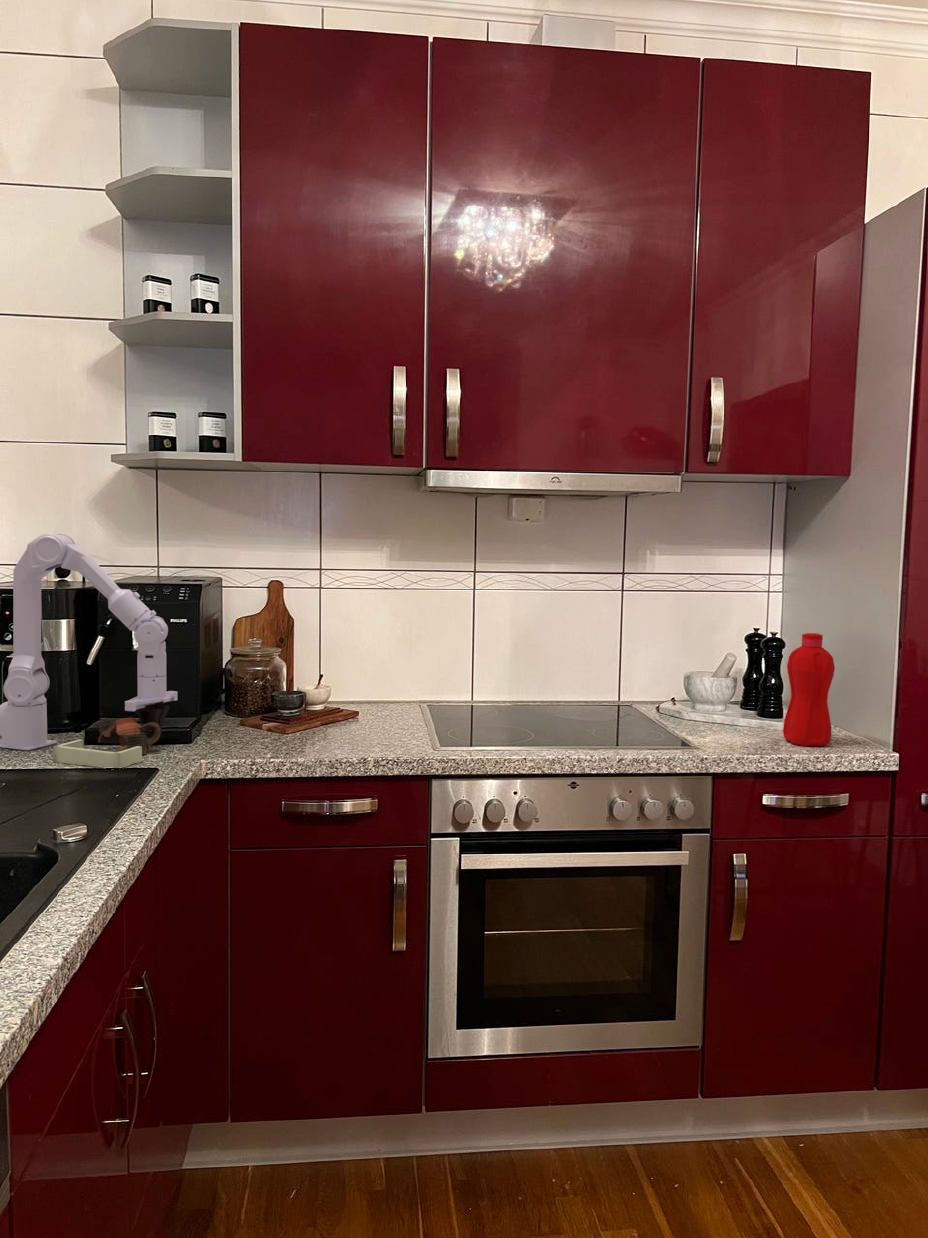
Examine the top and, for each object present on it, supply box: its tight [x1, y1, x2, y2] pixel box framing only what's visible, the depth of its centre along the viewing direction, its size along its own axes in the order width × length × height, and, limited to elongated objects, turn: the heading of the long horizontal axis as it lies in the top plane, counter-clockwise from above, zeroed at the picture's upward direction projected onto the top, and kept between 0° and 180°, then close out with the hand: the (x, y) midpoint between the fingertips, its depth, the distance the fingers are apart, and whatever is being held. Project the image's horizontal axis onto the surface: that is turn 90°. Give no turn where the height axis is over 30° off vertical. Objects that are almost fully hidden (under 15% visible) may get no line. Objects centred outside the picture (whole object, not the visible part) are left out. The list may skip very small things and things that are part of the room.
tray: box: [52, 738, 143, 768], centre depth 180 cm, size 15×7×3 cm, turn 70°
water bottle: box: [782, 632, 836, 747], centre depth 212 cm, size 9×11×25 cm
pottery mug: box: [97, 717, 162, 756], centre depth 189 cm, size 12×10×8 cm
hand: (152, 739), depth 196 cm, fingers closed
